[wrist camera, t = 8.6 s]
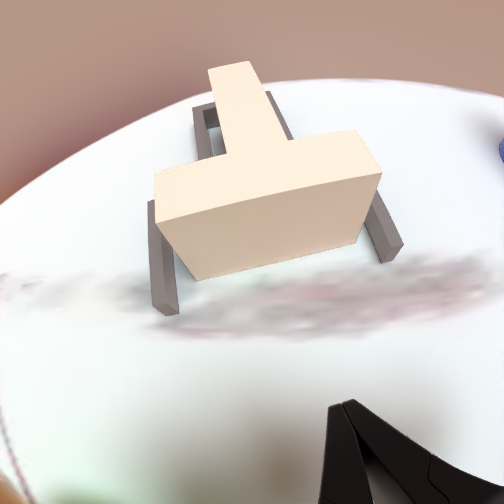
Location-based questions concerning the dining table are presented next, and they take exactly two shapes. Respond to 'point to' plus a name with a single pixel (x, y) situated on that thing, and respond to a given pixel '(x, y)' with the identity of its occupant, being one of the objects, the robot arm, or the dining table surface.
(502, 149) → the water bottle
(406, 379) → the dining table surface
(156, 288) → the t outline
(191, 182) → the t block
